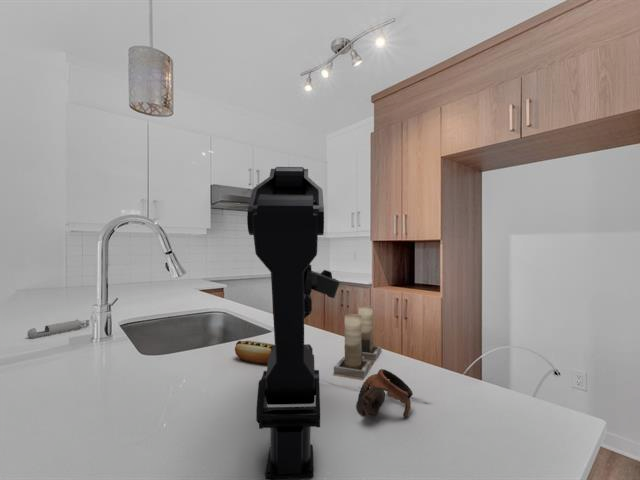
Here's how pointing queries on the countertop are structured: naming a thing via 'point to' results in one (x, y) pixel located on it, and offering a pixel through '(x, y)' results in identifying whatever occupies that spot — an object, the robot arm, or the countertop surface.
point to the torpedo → (57, 328)
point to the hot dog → (253, 351)
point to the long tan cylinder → (366, 328)
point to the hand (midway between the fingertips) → (294, 340)
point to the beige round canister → (353, 341)
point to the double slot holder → (366, 365)
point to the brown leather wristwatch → (382, 393)
